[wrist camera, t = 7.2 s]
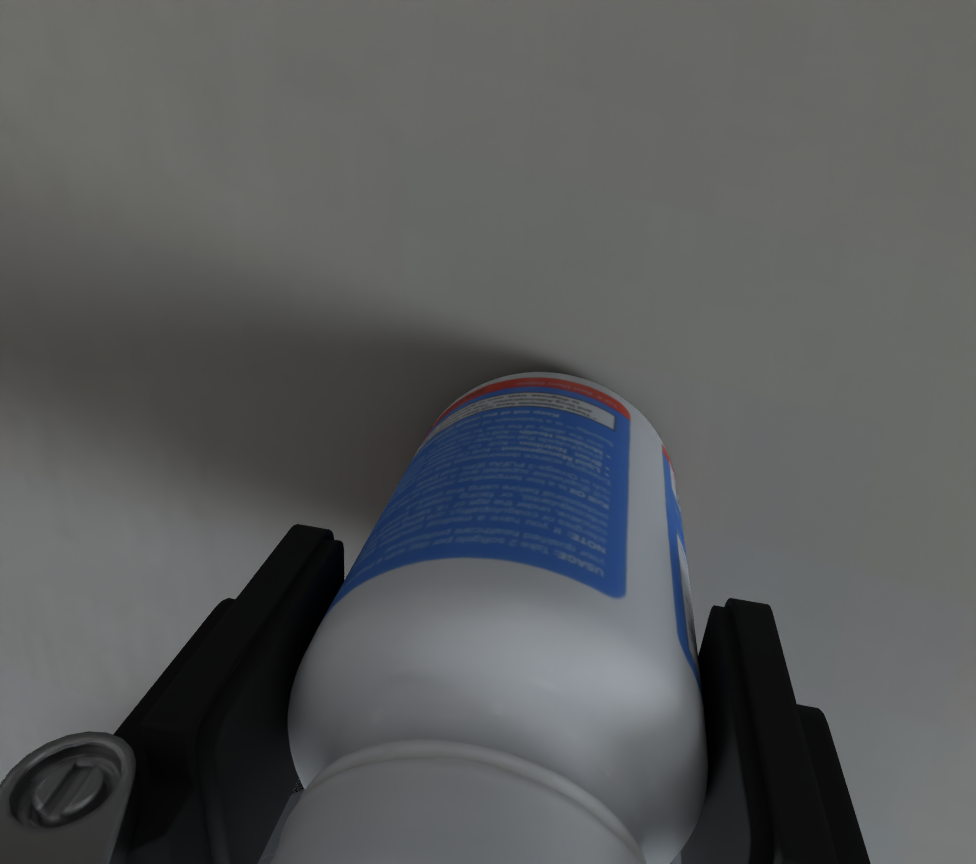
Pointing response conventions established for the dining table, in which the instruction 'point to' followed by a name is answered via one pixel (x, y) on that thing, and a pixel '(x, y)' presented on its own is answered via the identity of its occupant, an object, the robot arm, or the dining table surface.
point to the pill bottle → (509, 650)
